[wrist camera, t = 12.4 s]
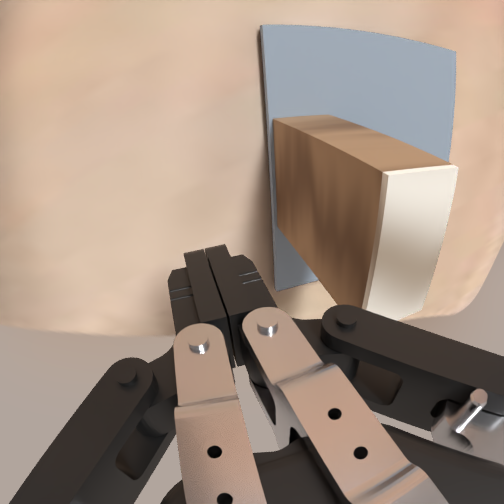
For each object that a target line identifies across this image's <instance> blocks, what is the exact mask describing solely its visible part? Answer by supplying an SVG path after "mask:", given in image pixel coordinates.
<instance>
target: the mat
mask: <svg viewBox="0 0 504 504" xmlns="http://www.w3.org/2000/svg"><path fill="white" fill-rule="evenodd" d="M260 34H261V47H262V60H263V74H264V88H265V103H266V119H267V135H268V152H269V170H270V189H271V209H272V231H273V254H274V280H275V289H276V291H280V290H284V289H288V288H292V287H295V286H299V285H302V284H306V283H310V282H313V281H317V280H318V278H317V277H316V276H315V274H314V273H313V272H312V270H311V269H310V268H309V266H308V265H307V264H306V263H305V261H304V260H303V259H302V257H301V256H300V255H299V254H298V252H297V251H296V250H295V248H294V247H293V246H292V245H291V243H290V242H289V241H288V239H287V238H286V237H285V236H284V234H283V233H282V232H281V231H280V229H279V228H278V227H277V204H276V179H275V156H274V135H273V118H284V117H296V116H310V115H328V114H329V115H332V116H335V117H338V118H341V119H344V120H347V121H350V122H353V123H355V124H358V125H361V126H364V127H366V128H369V129H372V130H374V131H377V132H380V133H382V134H385V135H387V136H390V137H392V138H395V139H397V140H400V141H402V142H405V143H407V144H409V145H412V146H414V147H416V148H418V149H421V150H423V151H425V152H427V153H430V154H432V155H434V156H436V157H438V158H440V159H442V160H445V161H447V162H449V155H450V147H451V138H452V129H453V118H454V105H455V86H456V52H455V51H452V50H449V49H445V48H442V47H438V46H434V45H430V44H426V43H422V42H418V41H414V40H409V39H405V38H400V37H395V36H389V35H384V34H378V33H372V32H365V31H358V30H350V29H341V28H331V27H319V26H302V25H260Z"/></svg>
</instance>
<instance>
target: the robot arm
mask: <svg viewBox="0 0 504 504" xmlns="http://www.w3.org/2000/svg"><path fill="white" fill-rule="evenodd" d="M184 258H185V262H186V267H185V268H181V269H176V270H172V272H171V274H170V276H169V279H168V287H169V294H170V300H171V307H172V313H173V319H174V325H175V331H176V337H175V340H174V344H173V346H172V347H171V349H170V350H169V351H168V352H167V353H165V354H164V355H163V356H161V357H159V358H157V359H156V360H154V361H152V362H150V363H147V362H146V361H144V360H142V359H139V358H125V359H122V360H119V361H118V362H116V363H114V364H113V365H112V366H111V367H110V368H109V369H108V370H107V372H106V373H105V374H104V376H103V377H102V378H101V379H100V380H99V382H98V383H97V384H96V386H95V387H94V388H93V389H92V391H91V392H90V394H89V395H88V396H87V397H86V399H85V400H84V401H83V402H82V404H81V405H80V406H79V408H78V409H77V410H76V412H75V413H74V414H73V416H72V417H71V418H70V420H69V421H68V422H67V424H66V425H65V426H64V428H63V429H62V430H61V432H60V433H59V434H58V436H57V437H56V438H55V440H54V441H53V442H52V444H51V445H50V446H49V448H48V449H47V451H46V452H45V453H44V455H43V456H42V457H41V459H40V460H39V462H38V463H37V464H36V466H35V467H34V469H33V470H32V471H31V473H30V474H29V476H28V477H27V478H26V480H25V481H24V483H23V484H22V486H21V487H20V488H19V490H18V491H17V493H16V494H15V496H14V497H13V499H12V500H11V501H10V503H9V504H134V502H135V501H136V499H137V498H138V496H139V494H140V492H141V491H142V489H143V488H144V486H145V485H146V483H147V481H148V480H149V478H150V476H151V474H152V473H153V471H154V470H155V468H156V466H157V465H158V463H159V462H160V460H161V458H162V456H163V455H164V453H165V452H166V450H167V448H168V446H169V445H170V443H171V441H172V440H173V438H174V436H175V435H177V443H178V451H179V458H180V466H181V473H182V480H181V481H180V482H179V483H177V484H176V485H175V486H174V487H173V488H172V489H171V490H170V491H169V492H168V493H167V495H166V496H165V497H164V498H163V500H162V502H161V504H504V356H500V355H497V354H494V353H491V352H488V351H485V350H482V349H479V348H476V347H473V346H470V345H467V344H464V343H461V342H458V341H455V340H452V339H449V338H446V337H443V336H440V335H437V334H434V333H431V332H428V331H425V330H422V329H419V328H416V327H414V326H410V325H408V324H404V323H402V322H399V321H396V320H393V319H390V318H387V317H384V316H382V315H379V314H376V313H373V312H370V311H367V310H364V309H361V308H359V307H356V306H352V305H345V304H343V305H336V306H333V307H331V308H329V309H328V310H327V311H326V312H325V313H324V315H323V317H322V319H311V320H301V319H295V318H291V317H290V316H289V314H288V313H286V312H285V311H283V310H281V309H279V308H278V307H277V306H276V304H275V302H274V300H273V298H272V297H271V295H270V293H269V291H268V289H267V287H266V286H265V284H264V282H263V280H262V279H261V276H260V275H259V273H258V272H257V269H256V267H255V265H254V264H253V262H252V261H251V260H250V259H248V258H247V257H245V256H244V255H238V256H234V257H231V256H230V254H229V252H228V250H227V247H226V245H225V244H224V245H219V246H214V247H210V248H205V252H204V249H201V250H197V251H192V252H188V253H184ZM233 355H234V356H233ZM234 358H235V361H236V363H237V366H242V365H245V366H246V369H247V371H248V374H249V381H250V385H251V387H252V389H253V391H254V393H255V395H256V398H257V399H258V402H259V404H260V406H261V408H262V410H263V412H264V413H265V415H266V417H267V419H268V421H269V423H270V425H271V427H272V429H273V431H274V434H275V437H276V441H277V444H278V446H279V449H280V450H279V451H274V452H262V453H252V449H251V445H250V442H249V438H248V434H247V430H246V427H245V422H244V418H243V414H242V411H241V406H240V402H239V398H238V396H237V392H236V388H235V380H234V374H233V370H232V368H235V361H234ZM371 410H372V411H374V412H377V413H380V414H382V415H385V416H387V417H390V418H393V419H396V420H398V421H401V422H404V423H407V424H410V425H412V426H415V427H418V428H421V429H424V430H427V431H431V434H432V437H433V442H432V441H429V440H426V439H424V438H421V437H418V436H415V435H413V434H410V433H408V432H405V431H403V430H400V429H398V428H395V427H393V426H390V425H386V424H382V423H380V422H379V421H378V419H377V418H376V417H375V415H374V414H373V413H372V411H371Z"/></svg>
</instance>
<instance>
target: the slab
mask: <svg viewBox="0 0 504 504" xmlns="http://www.w3.org/2000/svg"><path fill="white" fill-rule="evenodd" d="M273 135H274V156H275V179H276V204H277V227H278V228H279V229H280V231H281V232H282V233H283V234H284V236H285V237H286V238H287V239H288V241H289V242H290V243H291V245H292V246H293V247H294V248H295V250H296V251H297V252H298V254H299V255H300V256H301V257H302V259H303V260H304V261H305V263H306V264H307V265H308V266H309V268H310V269H311V270H312V272H313V273H314V274H315V276H316V277H317V278H318V280H319V281H320V282H321V283H322V285H323V286H324V287H325V289H326V290H327V291H328V293H329V294H330V295H331V297H332V298H333V299H334V301H335V302H336V303H337V305H343V304H345V305H352V306H356V307H359V308H361V309H364V310H367V311H370V312H373V313H376V314H379V315H382V316H384V317H387V318H390V319H393V320H396V321H397V320H399V319H402V318H404V317H406V316H409V315H411V314H413V313H416V312H418V311H420V310H422V307H423V304H424V301H425V299H426V296H427V293H428V290H429V287H430V284H431V280H432V277H433V274H434V271H435V268H436V264H437V261H438V257H439V254H440V250H441V247H442V243H443V239H444V235H445V231H446V227H447V223H448V219H449V214H450V210H451V205H452V201H453V196H454V191H455V185H456V180H457V174H458V168H459V167H457V166H455V165H453V164H451V163H449V162H447V161H445V160H442V159H440V158H438V157H436V156H434V155H432V154H430V153H427V152H425V151H423V150H421V149H418V148H416V147H414V146H412V145H409V144H407V143H405V142H402V141H400V140H397V139H395V138H392V137H390V136H387V135H385V134H382V133H380V132H377V131H374V130H372V129H369V128H366V127H364V126H361V125H358V124H355V123H353V122H350V121H347V120H344V119H341V118H338V117H335V116H332V115H329V114H328V115H310V116H296V117H284V118H273Z"/></svg>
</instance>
